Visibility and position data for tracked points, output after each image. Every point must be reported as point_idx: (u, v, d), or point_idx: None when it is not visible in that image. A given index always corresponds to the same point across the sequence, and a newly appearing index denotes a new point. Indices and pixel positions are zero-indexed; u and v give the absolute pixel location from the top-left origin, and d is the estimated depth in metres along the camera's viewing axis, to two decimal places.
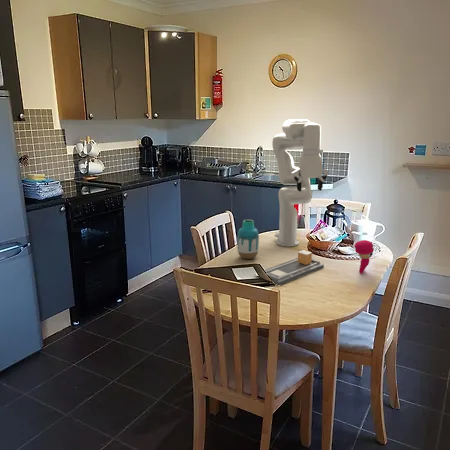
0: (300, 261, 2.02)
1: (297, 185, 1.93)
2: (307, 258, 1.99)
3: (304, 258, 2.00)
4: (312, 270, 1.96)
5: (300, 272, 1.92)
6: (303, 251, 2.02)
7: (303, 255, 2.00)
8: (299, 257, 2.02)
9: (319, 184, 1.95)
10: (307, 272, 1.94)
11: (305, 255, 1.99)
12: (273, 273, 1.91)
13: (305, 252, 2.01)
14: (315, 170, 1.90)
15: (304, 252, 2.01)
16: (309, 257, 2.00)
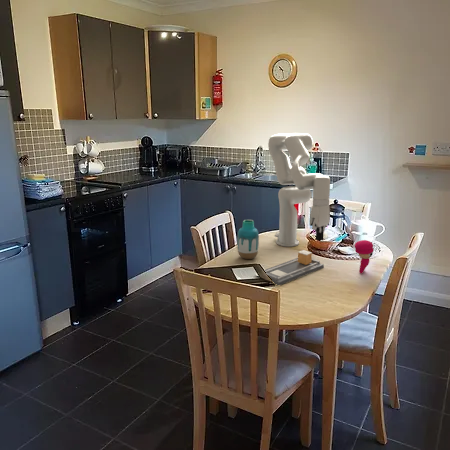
0: (300, 261, 2.02)
1: (317, 235, 2.04)
2: (307, 258, 1.99)
3: (304, 258, 2.00)
4: (312, 270, 1.96)
5: (300, 272, 1.92)
6: (303, 251, 2.02)
7: (303, 255, 2.00)
8: (299, 257, 2.02)
9: None
10: (307, 272, 1.94)
11: (305, 255, 1.99)
12: (273, 273, 1.91)
13: (305, 252, 2.01)
14: (326, 218, 2.02)
15: (304, 252, 2.01)
16: (309, 257, 2.00)
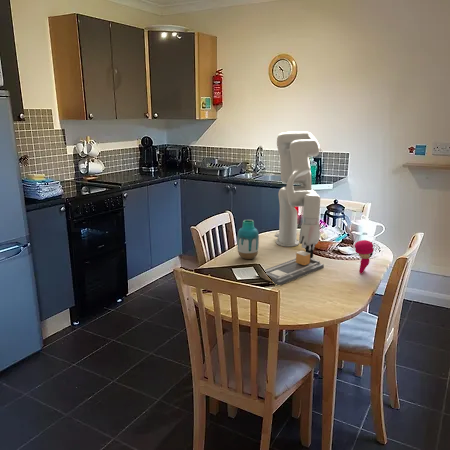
0: (298, 262, 2.01)
1: None
2: (305, 259, 1.99)
3: (302, 259, 1.99)
4: (312, 270, 1.96)
5: (300, 272, 1.92)
6: (301, 252, 2.02)
7: (301, 255, 1.99)
8: (297, 258, 2.01)
9: (310, 252, 2.03)
10: (307, 272, 1.94)
11: (303, 256, 1.98)
12: (273, 273, 1.91)
13: (303, 253, 2.00)
14: (316, 236, 2.00)
15: (302, 253, 2.00)
16: (307, 258, 1.99)
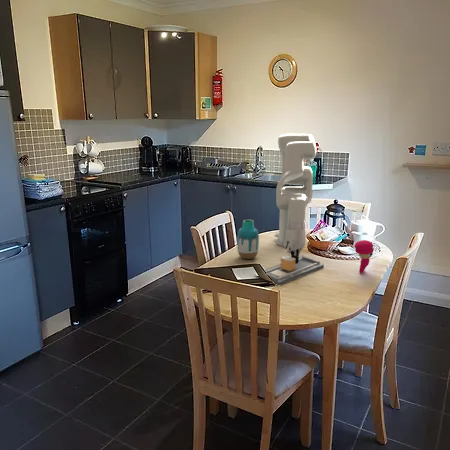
0: (283, 267, 1.95)
1: None
2: (290, 264, 1.92)
3: (287, 264, 1.92)
4: (312, 270, 1.96)
5: (300, 272, 1.92)
6: (286, 257, 1.95)
7: (286, 261, 1.92)
8: (282, 263, 1.95)
9: (295, 257, 1.97)
10: (307, 272, 1.94)
11: (288, 261, 1.91)
12: (273, 273, 1.91)
13: (288, 258, 1.94)
14: (301, 241, 1.94)
15: (287, 258, 1.94)
16: (292, 263, 1.93)
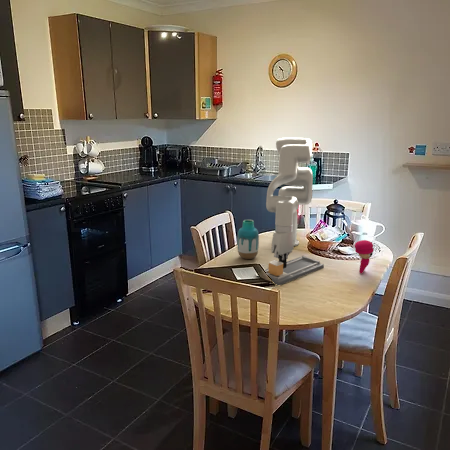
0: (271, 272, 1.89)
1: None
2: (278, 269, 1.87)
3: (274, 269, 1.87)
4: (312, 270, 1.96)
5: (300, 272, 1.92)
6: (274, 261, 1.90)
7: (274, 265, 1.87)
8: (270, 268, 1.89)
9: None
10: (307, 272, 1.94)
11: (276, 266, 1.86)
12: None
13: (276, 262, 1.88)
14: (289, 245, 1.89)
15: (275, 262, 1.88)
16: (280, 268, 1.88)
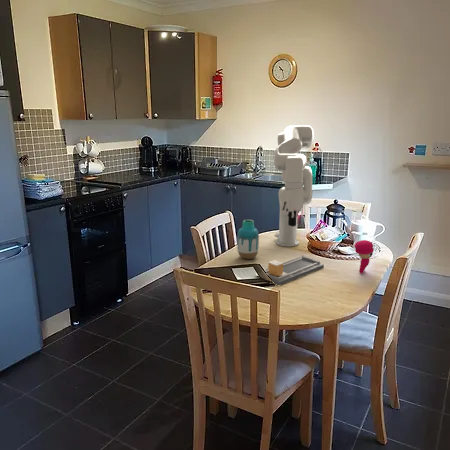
0: (271, 272, 1.89)
1: (290, 220, 1.89)
2: (278, 269, 1.87)
3: (274, 269, 1.87)
4: (312, 270, 1.96)
5: (300, 272, 1.92)
6: (274, 261, 1.90)
7: (273, 265, 1.87)
8: (270, 268, 1.89)
9: None
10: (307, 272, 1.94)
11: (275, 266, 1.86)
12: None
13: (276, 262, 1.88)
14: (299, 202, 1.87)
15: (275, 262, 1.88)
16: (280, 268, 1.88)
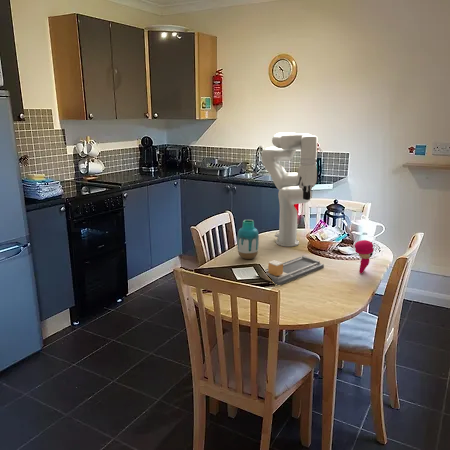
0: (271, 272, 1.89)
1: (304, 194, 2.08)
2: (278, 269, 1.87)
3: (274, 269, 1.87)
4: (312, 270, 1.96)
5: (300, 272, 1.92)
6: (274, 261, 1.90)
7: (273, 265, 1.87)
8: (270, 268, 1.89)
9: None
10: (307, 272, 1.94)
11: (275, 266, 1.86)
12: None
13: (276, 262, 1.88)
14: (313, 178, 2.06)
15: (275, 262, 1.88)
16: (280, 268, 1.88)
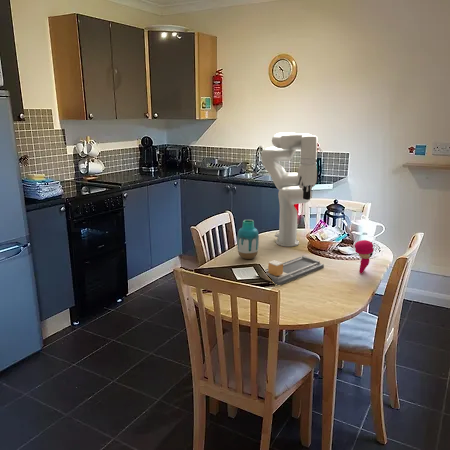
0: (271, 272, 1.89)
1: (304, 194, 2.08)
2: (278, 269, 1.87)
3: (274, 269, 1.87)
4: (312, 270, 1.96)
5: (300, 272, 1.92)
6: (274, 261, 1.90)
7: (273, 265, 1.87)
8: (270, 268, 1.89)
9: None
10: (307, 272, 1.94)
11: (275, 266, 1.86)
12: None
13: (276, 262, 1.88)
14: (313, 177, 2.06)
15: (275, 262, 1.88)
16: (280, 268, 1.88)
